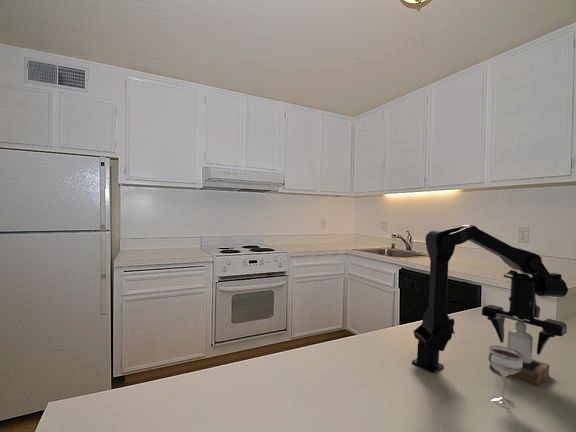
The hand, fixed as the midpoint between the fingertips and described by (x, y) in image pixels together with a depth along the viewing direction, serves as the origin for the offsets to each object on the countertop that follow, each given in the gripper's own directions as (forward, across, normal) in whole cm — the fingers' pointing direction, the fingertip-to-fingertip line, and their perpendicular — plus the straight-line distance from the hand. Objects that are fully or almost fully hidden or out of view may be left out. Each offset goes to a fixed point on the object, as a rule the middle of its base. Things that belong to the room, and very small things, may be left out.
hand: (519, 348), depth 85 cm
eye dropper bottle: (+4, 0, 0) cm, 4 cm away
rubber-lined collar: (+7, 0, 0) cm, 7 cm away
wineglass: (+7, -3, +22) cm, 23 cm away
